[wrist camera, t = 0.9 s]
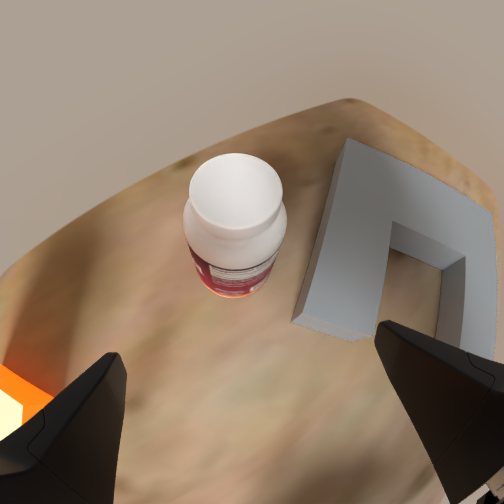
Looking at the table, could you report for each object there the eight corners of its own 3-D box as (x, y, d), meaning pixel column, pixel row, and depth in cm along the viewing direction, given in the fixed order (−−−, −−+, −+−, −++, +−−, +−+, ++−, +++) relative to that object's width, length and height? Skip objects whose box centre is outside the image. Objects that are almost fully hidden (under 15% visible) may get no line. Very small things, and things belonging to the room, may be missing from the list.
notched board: (465, 372, 21) (491, 369, 17) (290, 322, 22) (302, 312, 19) (472, 227, 28) (491, 212, 24) (336, 162, 29) (347, 137, 26)
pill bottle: (199, 229, 25) (183, 140, 15) (269, 232, 25) (293, 144, 15) (194, 299, 23) (165, 240, 12) (271, 301, 23) (303, 244, 13)
